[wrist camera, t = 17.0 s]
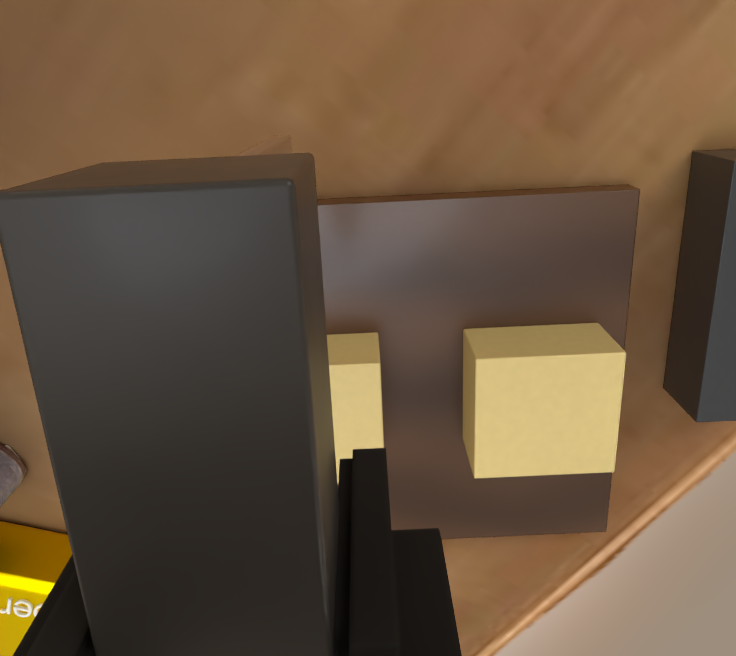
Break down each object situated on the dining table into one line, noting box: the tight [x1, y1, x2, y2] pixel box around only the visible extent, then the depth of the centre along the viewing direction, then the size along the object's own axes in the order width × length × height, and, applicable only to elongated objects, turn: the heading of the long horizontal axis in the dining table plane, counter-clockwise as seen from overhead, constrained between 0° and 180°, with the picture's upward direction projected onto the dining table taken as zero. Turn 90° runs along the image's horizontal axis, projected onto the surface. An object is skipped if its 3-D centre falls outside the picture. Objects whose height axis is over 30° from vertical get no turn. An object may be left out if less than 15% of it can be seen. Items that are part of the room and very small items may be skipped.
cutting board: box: [317, 185, 640, 539], centre depth 37 cm, size 20×18×2 cm
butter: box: [463, 323, 626, 478], centre depth 34 cm, size 6×7×4 cm
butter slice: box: [327, 332, 384, 484], centre depth 34 cm, size 6×4×4 cm, turn 3°
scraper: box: [0, 135, 339, 656], centre depth 12 cm, size 12×2×10 cm, turn 3°
